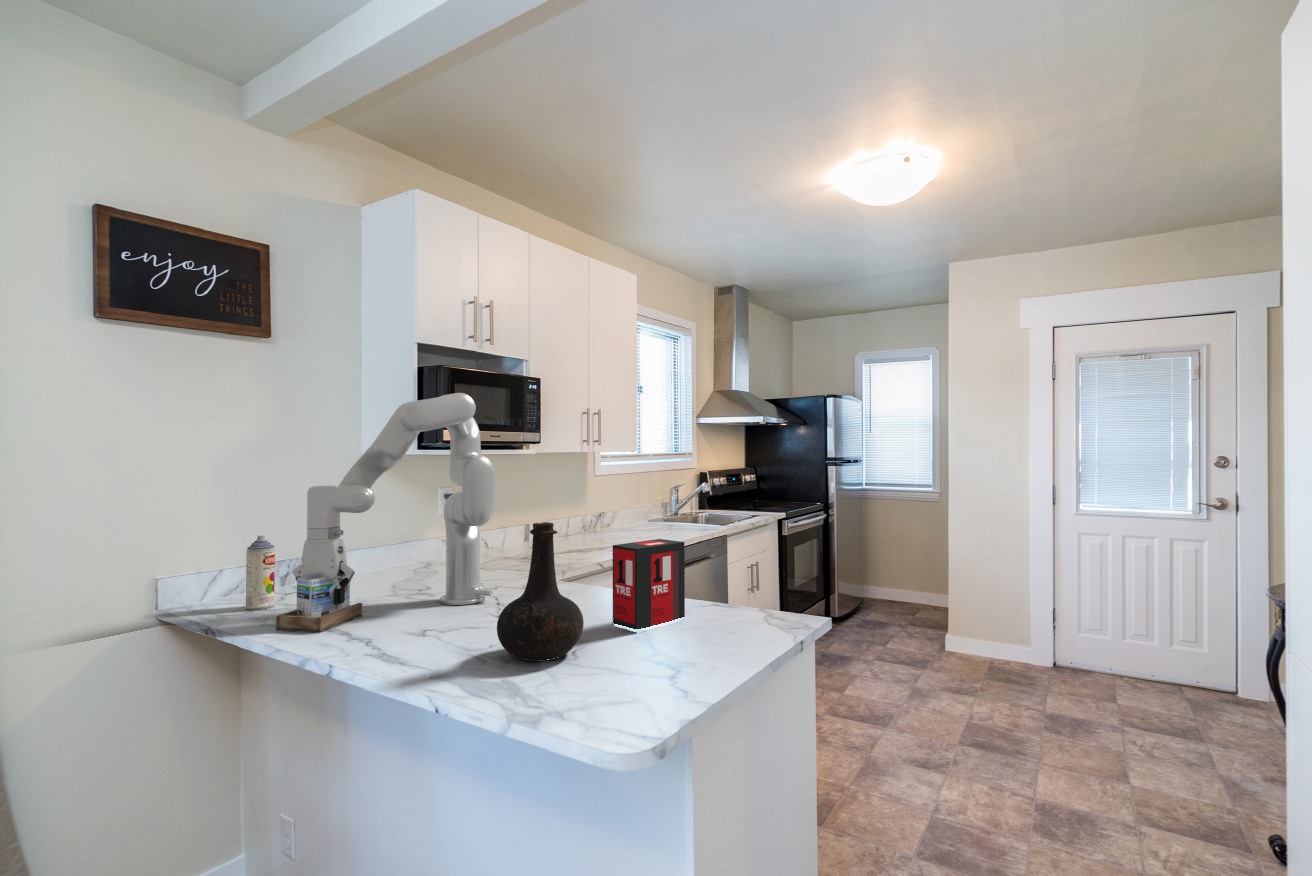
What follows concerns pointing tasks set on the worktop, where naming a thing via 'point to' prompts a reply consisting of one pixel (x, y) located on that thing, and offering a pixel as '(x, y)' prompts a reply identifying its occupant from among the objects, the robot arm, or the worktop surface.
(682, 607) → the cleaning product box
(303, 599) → the light bulb box
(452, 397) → the robot arm
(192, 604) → the worktop surface
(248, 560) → the aerosol can
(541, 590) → the glass bottle
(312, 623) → the tray
